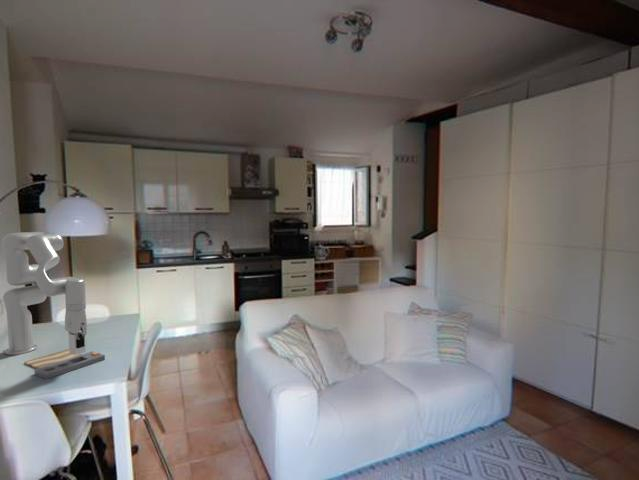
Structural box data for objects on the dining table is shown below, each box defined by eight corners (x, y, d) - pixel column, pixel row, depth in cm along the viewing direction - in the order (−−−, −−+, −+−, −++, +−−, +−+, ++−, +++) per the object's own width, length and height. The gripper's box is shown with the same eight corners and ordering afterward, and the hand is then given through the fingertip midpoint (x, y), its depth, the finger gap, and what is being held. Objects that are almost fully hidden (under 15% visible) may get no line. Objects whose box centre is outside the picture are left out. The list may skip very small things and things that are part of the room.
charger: (69, 353, 165) (68, 332, 165) (80, 349, 169) (79, 329, 169) (74, 355, 163) (74, 334, 162) (85, 351, 167) (84, 331, 166)
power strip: (34, 374, 156) (34, 368, 156) (92, 355, 177) (92, 350, 177) (46, 379, 151) (46, 373, 151) (104, 359, 172) (104, 354, 172)
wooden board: (24, 363, 167) (24, 361, 167) (67, 350, 183) (67, 349, 182) (39, 370, 160) (39, 368, 160) (82, 356, 176) (82, 354, 176)
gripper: (56, 305, 166) (58, 345, 167) (77, 311, 157) (78, 352, 159) (74, 302, 172) (76, 340, 173) (95, 307, 164) (96, 347, 165)
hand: (77, 345), depth 166 cm, fingers closed on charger, 4 cm apart
